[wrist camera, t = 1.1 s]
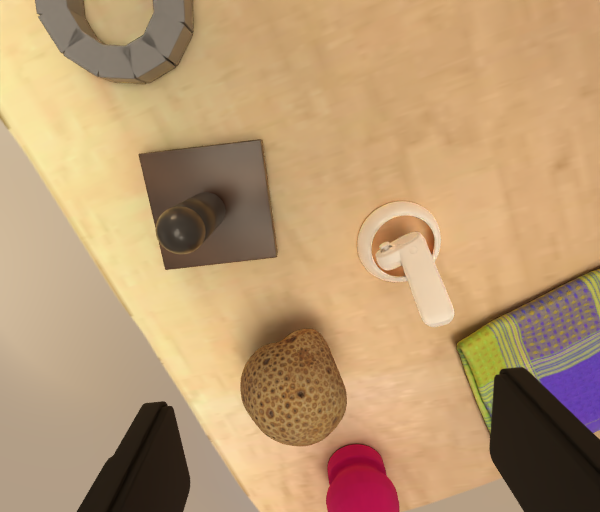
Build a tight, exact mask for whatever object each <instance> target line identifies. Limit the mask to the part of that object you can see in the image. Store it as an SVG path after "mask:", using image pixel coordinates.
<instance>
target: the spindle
mask: <svg viewBox="0 0 600 512" xmlns="http://www.w3.org/2000/svg"><path fill="white" fill-rule="evenodd" d="M139 158H140V163H141V167H142V171H143V176H144V180H145V184H146V189H147V193H148V197H149V201H150V206H151V210H152V214H153V219H154V223H155V227H156V236H157V239H158V241H159V245H160V249H161V253H162V257H163V262H164V266H165V270H169V269H178V268H187V267H195V266H204V265H213V264H222V263H231V262H239V261H248V260H257V259H266V258H274V257H277V245H276V237H275V230H274V223H273V215H272V208H271V201H270V193H269V186H268V178H267V171H266V164H265V156H264V149H263V142H262V140H252V141H243V142H235V143H227V144H218V145H210V146H201V147H193V148H184V149H176V150H167V151H159V152H150V153H142V154H139Z"/></svg>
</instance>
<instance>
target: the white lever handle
mask: <svg viewBox="0 0 600 512" xmlns="http://www.w3.org/2000/svg"><path fill="white" fill-rule="evenodd" d="M405 215H409V216H415V217H417V218H420V219H421V220H423V221H425V222H426V223H427V224H428V225H429V226H430V228H431V230H432V232H433V234H434V249H433V253H432V255H431V253H430V250H429V248H428V245H427V243H426V239H425V238H424V237H423V236H422V235H421V233H420V232H411V233H408V234H406V235H404V236H402V237H400V238H398V239H396V240H394V241H393V242H391V243H389V242H384V243H382V244H381V245H380V246H379V248H380V249H379V250H378V251H377V253H376V260H377V263H378V265H379V266H380V267H381V268H382V269H384V270H392V269H395V268H398V267H400V266H403V268H404V273H405V275H406V276H391V275H388V274H386V273H385V272H383V271H382V270H381V269H379V268H378V266H377V265H376V263H375V262H374V259H373V257H372V241H373V238H374V236H375V234H376V232H377V231H378V229H379V228H380V227H381V226H382V225H383V224H384V223H385V222H387V221H388V220H390V219H392V218H394V217H398V216H405ZM440 244H441V235H440V229H439V226H438V224H437V221H436V220H435V218H434V216H433V215H432V214H431V213H430V212H429V211H428V210H427V209H426V208H424V207H422V206H421V205H419V204H416V203H413V202H407V201H396V202H392V203H388V204H385V205H383V206H381V207H379V208H378V209H376V210H375V211H373V212H372V213H371V214H370V215H369V216H368V217H367V218H366V220H365V221H364V223H363V224H362V227H361V229H360V231H359V235H358V239H357V250H358V255H359V258H360V260H361V263H362V264H363V266H364V267H365V268H366V270H367V271H369V272H370V273H371V274H372V275H373V276H375V277H377V278H379V279H382V280H384V281H389V282H405V281H408V283H409V285H410V288H411V291H412V294H413V297H414V300H415V302H416V305H417V308H418V311H419V313H420V316H421V319H422V320H423V322H424V323H425V324H426V325H428V326H430V327H439V326H442V325H446V324H448V323H450V322H451V321H452V319H453V317H454V308H453V306H452V303H451V300H450V298H449V296H448V293H447V291H446V288H445V286H444V284H443V281H442V279H441V277H440V274H439V272H438V269H437V267H436V265H435V260H436V258H437V256H438V254H439V250H440Z"/></svg>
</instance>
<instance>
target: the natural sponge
mask: <svg viewBox="0 0 600 512" xmlns="http://www.w3.org/2000/svg"><path fill="white" fill-rule="evenodd" d="M241 397H242V401H243V404H244V406H245V408H246V410H247V412H248V413H249V415H250V417H251V418H252V420H253V421H254V422H255V424H256V425H257V426H258V427H259V428H260V429H261V431H262V432H263V433H264V434H266V435H267V436H269V437H270V438H271V439H273V440H275V441H278V442H280V443H282V444H287V445H292V446H308V445H312V444H315V443H317V442H319V441H321V440H323V439H324V438H326V437H327V436H328V435H329V434H330V433H331V432H332V431H333V430H334V429H335V428H336V427H337V425H338V424H339V422H340V421H341V419H342V418H343V415H344V413H345V410H346V403H347V396H346V389H345V386H344V384H343V381H342V378H341V376H340V373H339V371H338V369H337V366H336V364H335V362H334V359H333V357H332V354H331V352H330V349H329V347H328V345H327V343H326V341H325V339H324V338H323V336H322V335H321V334H320V333H319V332H318V331H316V330H314V329H301V330H298V331H295V332H293V333H291V334H289V335H288V336H287V337H286V338H285V339H283V340H282V341H280V342H276V343H271V344H267V345H265V346H263V347H261V348H259V349H258V350H257V351H255V353H254V354H253V355H252V356H251V357H250V359H249V360H248V362H247V364H246V365H245V367H244V370H243V373H242V376H241Z"/></svg>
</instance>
